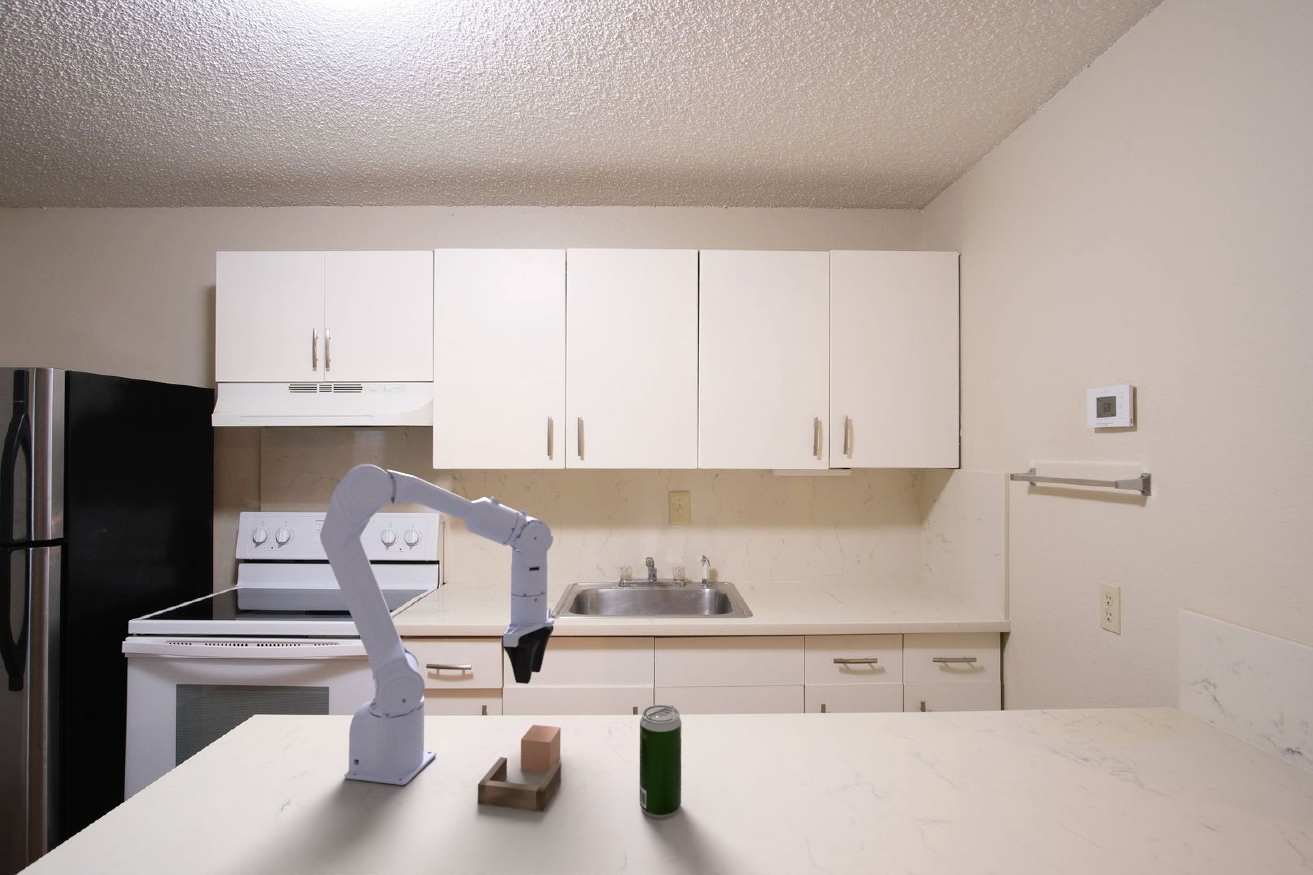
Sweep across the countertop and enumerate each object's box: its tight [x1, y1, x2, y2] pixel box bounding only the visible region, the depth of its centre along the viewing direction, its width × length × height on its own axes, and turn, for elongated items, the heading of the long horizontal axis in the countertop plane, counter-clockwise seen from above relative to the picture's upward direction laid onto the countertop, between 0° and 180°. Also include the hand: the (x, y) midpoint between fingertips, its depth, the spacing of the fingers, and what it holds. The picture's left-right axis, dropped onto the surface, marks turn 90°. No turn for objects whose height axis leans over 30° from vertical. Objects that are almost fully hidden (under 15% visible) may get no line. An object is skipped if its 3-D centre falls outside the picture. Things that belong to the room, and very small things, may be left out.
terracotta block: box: [520, 724, 562, 774], centre depth 83 cm, size 4×4×4 cm
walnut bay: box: [477, 756, 562, 812], centre depth 75 cm, size 9×6×2 cm
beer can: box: [639, 704, 682, 820], centre depth 73 cm, size 5×5×12 cm
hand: (528, 676), depth 91 cm, fingers open, 4 cm apart
